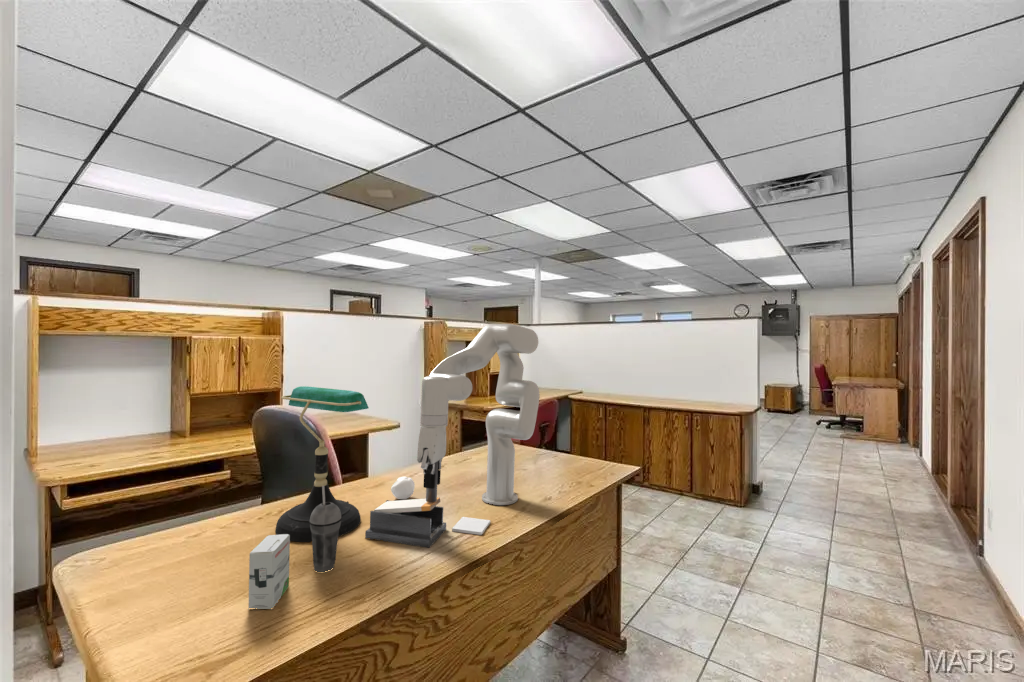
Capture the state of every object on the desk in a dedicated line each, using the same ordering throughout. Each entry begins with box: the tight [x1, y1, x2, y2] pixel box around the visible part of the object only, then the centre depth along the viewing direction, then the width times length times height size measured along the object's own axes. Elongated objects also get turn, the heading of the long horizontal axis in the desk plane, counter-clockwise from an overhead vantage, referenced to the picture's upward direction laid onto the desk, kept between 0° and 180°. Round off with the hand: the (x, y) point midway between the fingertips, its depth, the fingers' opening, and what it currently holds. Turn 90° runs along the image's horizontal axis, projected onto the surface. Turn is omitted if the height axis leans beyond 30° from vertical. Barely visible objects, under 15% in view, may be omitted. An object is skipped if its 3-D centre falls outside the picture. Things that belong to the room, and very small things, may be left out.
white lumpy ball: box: [390, 476, 415, 500], centre depth 155 cm, size 8×8×8 cm
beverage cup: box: [309, 486, 342, 573], centre depth 107 cm, size 7×7×20 cm
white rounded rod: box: [425, 460, 438, 502], centre depth 125 cm, size 3×3×12 cm
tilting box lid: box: [373, 497, 441, 513], centre depth 127 cm, size 17×7×1 cm, turn 77°
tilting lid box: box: [364, 499, 447, 548], centre depth 127 cm, size 19×12×7 cm, turn 77°
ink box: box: [248, 534, 291, 610], centre depth 94 cm, size 9×5×12 cm, turn 5°
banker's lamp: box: [274, 385, 369, 543], centre depth 132 cm, size 26×23×40 cm
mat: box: [451, 516, 491, 536], centre depth 133 cm, size 9×9×1 cm
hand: (431, 485), depth 125 cm, fingers closed on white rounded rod, 3 cm apart
